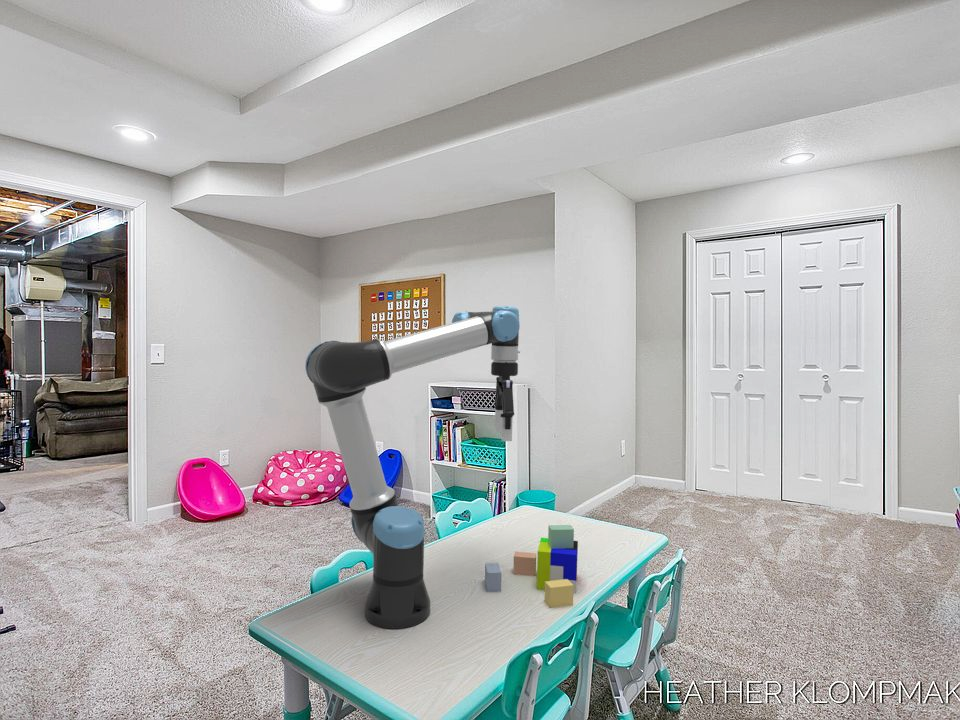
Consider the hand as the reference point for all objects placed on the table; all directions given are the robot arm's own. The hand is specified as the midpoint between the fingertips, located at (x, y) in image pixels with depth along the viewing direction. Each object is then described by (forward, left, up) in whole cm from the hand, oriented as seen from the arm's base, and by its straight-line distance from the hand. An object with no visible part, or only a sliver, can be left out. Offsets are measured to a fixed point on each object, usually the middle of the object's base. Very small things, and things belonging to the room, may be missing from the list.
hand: (503, 436), depth 157 cm
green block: (+14, -13, -27) cm, 33 cm away
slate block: (-4, -14, -37) cm, 40 cm away
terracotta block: (+6, -6, -37) cm, 38 cm away
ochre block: (+11, -24, -37) cm, 45 cm away
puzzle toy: (+13, -13, -37) cm, 41 cm away
